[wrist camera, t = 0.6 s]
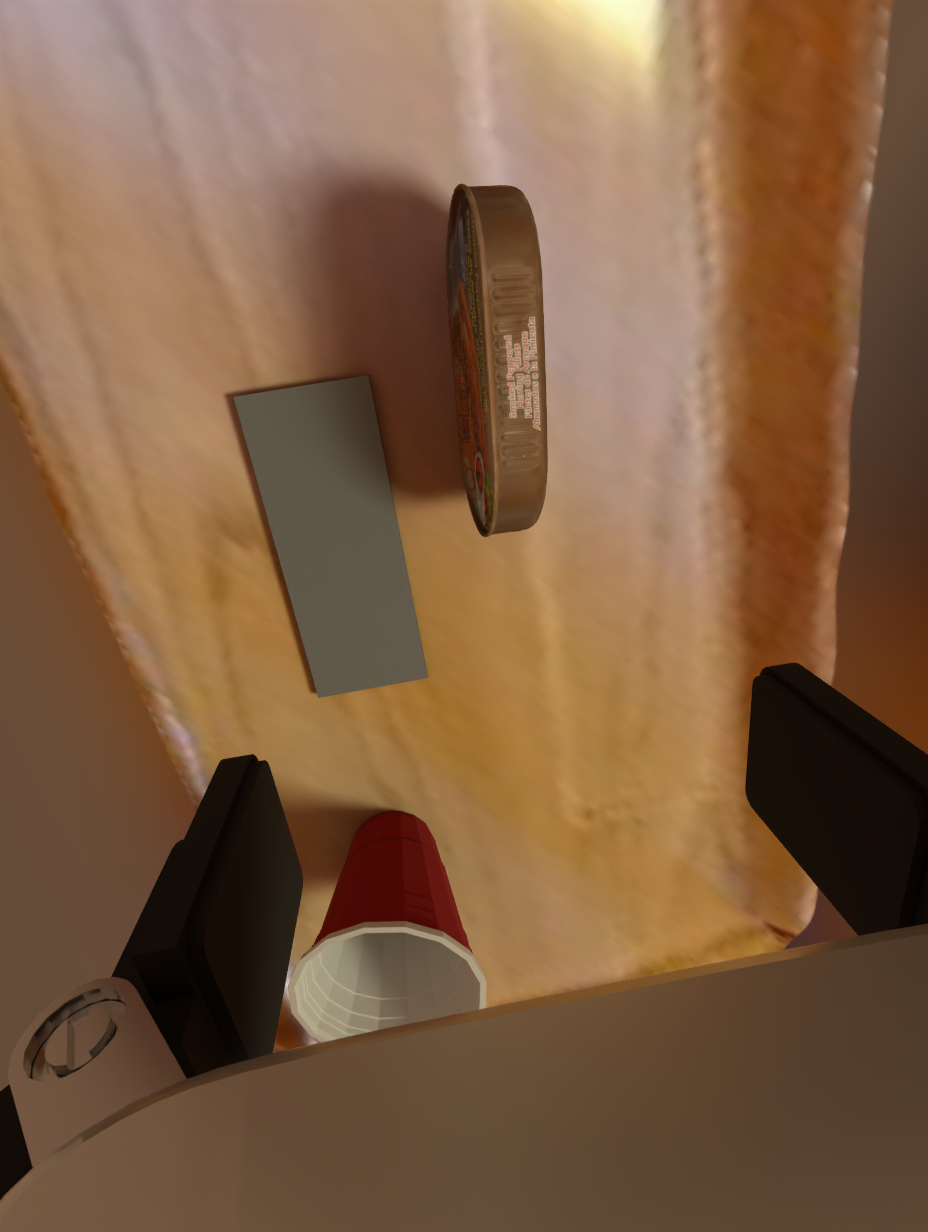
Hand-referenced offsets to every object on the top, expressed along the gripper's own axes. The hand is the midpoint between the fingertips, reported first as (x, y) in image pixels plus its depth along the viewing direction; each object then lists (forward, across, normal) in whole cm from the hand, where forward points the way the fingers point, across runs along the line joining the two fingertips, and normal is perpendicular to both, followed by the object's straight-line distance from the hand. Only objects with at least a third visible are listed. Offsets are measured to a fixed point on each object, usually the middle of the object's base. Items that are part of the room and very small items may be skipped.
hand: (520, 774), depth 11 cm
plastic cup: (+25, +7, +24) cm, 35 cm away
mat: (+25, +6, +2) cm, 25 cm away
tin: (+25, -4, -7) cm, 26 cm away
